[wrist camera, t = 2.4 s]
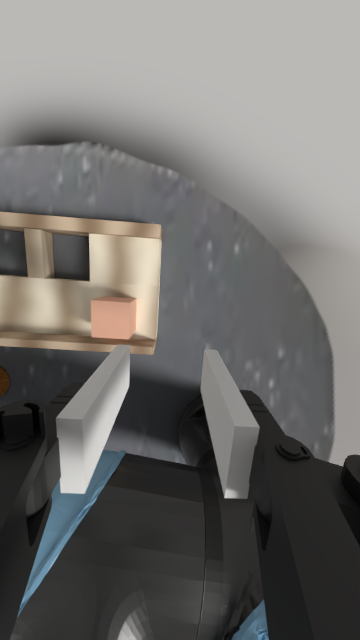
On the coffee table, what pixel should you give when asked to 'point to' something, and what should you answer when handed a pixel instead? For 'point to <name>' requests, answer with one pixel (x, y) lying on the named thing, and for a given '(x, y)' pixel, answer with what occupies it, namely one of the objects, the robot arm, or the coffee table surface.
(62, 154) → the coffee table surface
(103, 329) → the terracotta block
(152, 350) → the box
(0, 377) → the disposable coffee cup
